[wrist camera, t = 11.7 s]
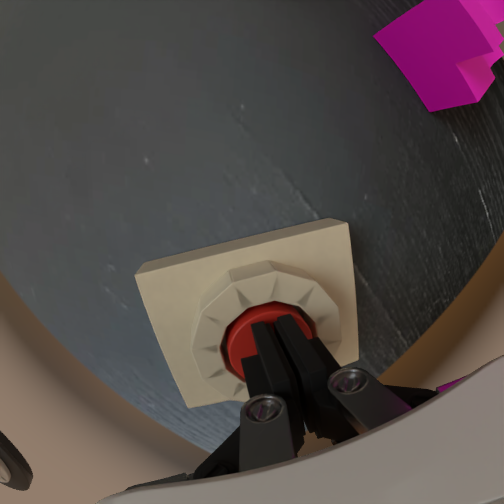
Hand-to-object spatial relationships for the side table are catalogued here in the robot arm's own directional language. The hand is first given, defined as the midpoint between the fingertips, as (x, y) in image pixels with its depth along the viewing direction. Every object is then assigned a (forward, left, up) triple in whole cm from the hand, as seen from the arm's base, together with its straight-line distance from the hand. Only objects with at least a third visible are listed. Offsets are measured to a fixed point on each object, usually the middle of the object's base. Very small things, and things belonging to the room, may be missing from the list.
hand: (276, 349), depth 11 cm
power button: (0, 0, -2) cm, 2 cm away
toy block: (+19, +16, -5) cm, 25 cm away
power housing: (0, 0, -4) cm, 4 cm away
